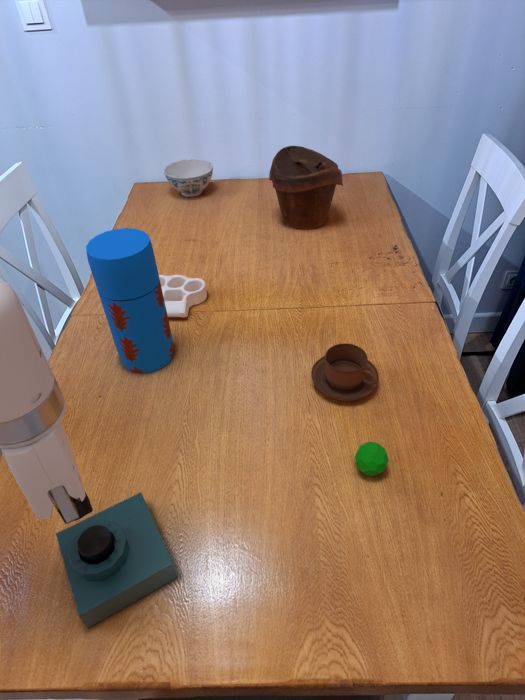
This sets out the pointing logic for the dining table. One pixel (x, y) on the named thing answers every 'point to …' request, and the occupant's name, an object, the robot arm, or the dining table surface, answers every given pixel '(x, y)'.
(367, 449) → the polyhedron
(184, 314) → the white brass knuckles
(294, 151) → the brown lidded bucket
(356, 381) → the cup and saucer
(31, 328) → the robot arm
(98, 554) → the knob
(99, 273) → the thermos
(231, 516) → the dining table surface
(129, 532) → the push-button housing
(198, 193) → the chinaware
